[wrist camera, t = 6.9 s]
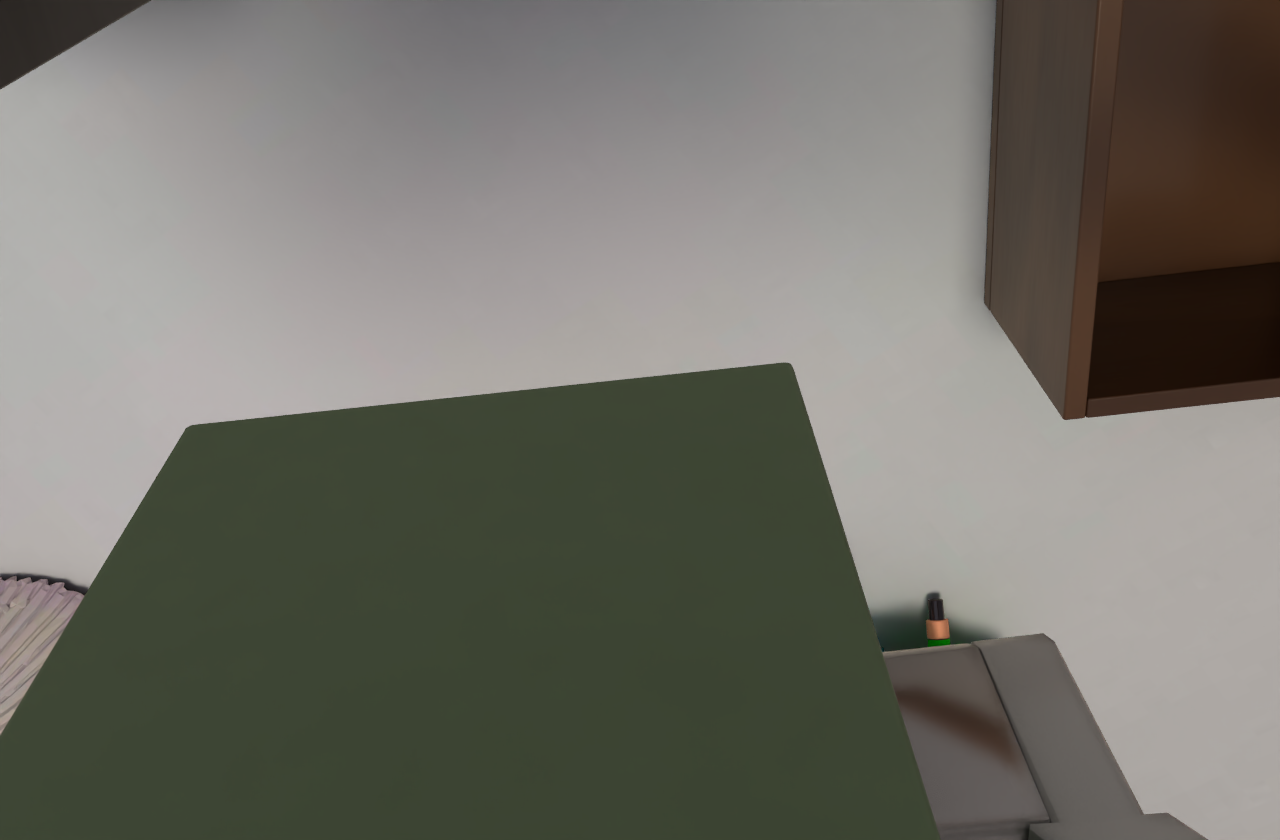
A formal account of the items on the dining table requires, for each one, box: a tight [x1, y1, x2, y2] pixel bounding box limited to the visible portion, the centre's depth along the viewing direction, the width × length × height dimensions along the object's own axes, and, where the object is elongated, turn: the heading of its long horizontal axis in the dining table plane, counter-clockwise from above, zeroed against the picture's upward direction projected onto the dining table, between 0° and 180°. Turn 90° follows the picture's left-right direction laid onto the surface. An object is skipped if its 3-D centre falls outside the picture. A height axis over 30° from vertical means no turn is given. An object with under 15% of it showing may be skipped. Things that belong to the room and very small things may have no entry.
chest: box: [984, 0, 1280, 420], centre depth 36 cm, size 15×11×9 cm
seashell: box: [0, 576, 84, 735], centre depth 50 cm, size 10×6×10 cm
